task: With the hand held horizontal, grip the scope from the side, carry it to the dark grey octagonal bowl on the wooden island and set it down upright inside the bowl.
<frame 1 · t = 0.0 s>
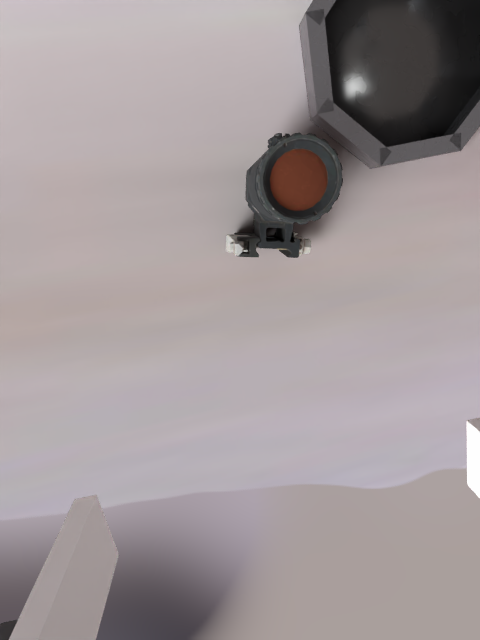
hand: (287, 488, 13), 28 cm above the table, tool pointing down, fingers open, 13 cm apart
scope: (268, 199, 38), on the table
dark grey octagonal bowl: (402, 55, 34), on the table
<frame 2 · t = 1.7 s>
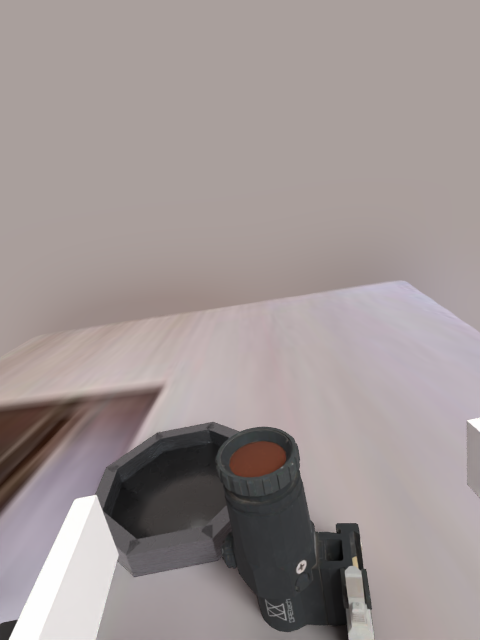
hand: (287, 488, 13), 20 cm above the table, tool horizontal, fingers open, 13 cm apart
scope: (301, 606, 29), on the table
dark grey octagonal bowl: (184, 493, 42), on the table
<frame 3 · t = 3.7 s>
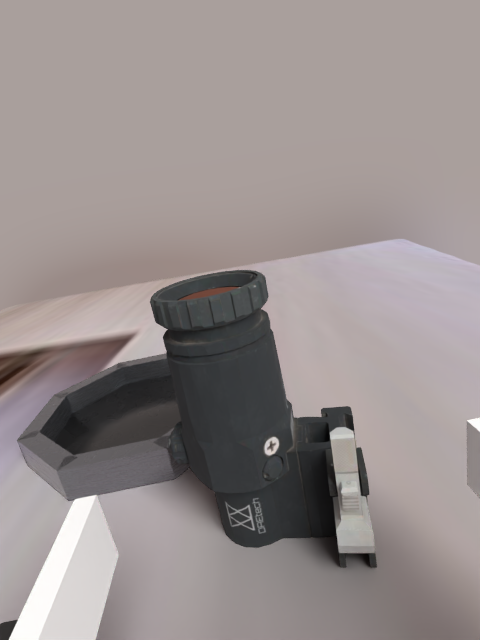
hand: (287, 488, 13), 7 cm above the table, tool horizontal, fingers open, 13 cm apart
scope: (276, 520, 22), on the table
dark grey octagonal bowl: (144, 419, 35), on the table
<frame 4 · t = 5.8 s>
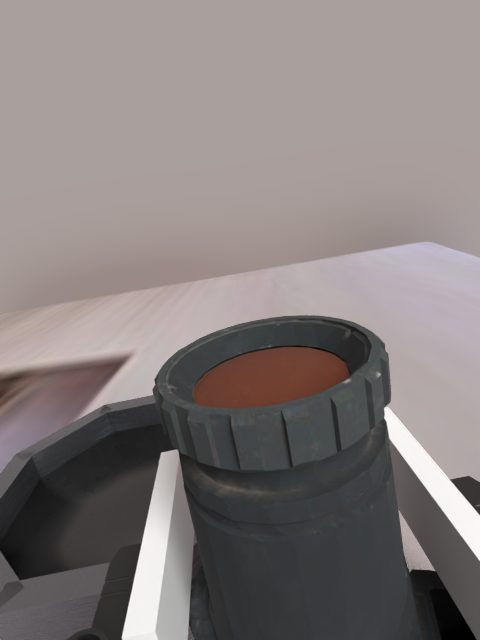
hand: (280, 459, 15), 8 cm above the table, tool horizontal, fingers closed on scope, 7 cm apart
dark grey octagonal bowl: (132, 493, 26), on the table
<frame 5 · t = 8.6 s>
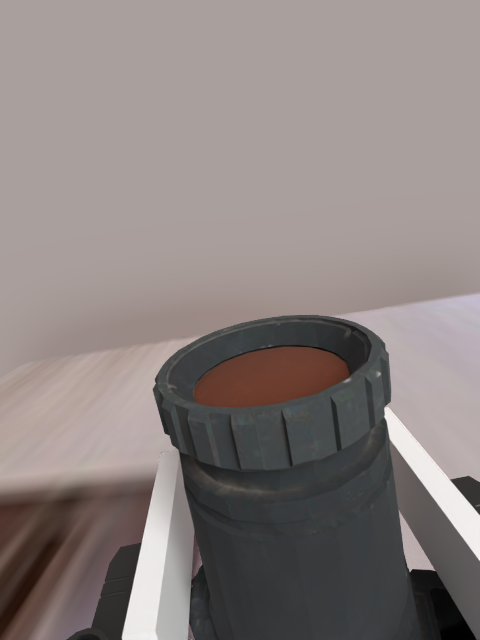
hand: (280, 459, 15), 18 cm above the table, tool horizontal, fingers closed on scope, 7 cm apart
when the fingers open (9 cm above the table, at t = 11.0 s): scope drops 1 cm, resting on dark grey octagonal bowl.
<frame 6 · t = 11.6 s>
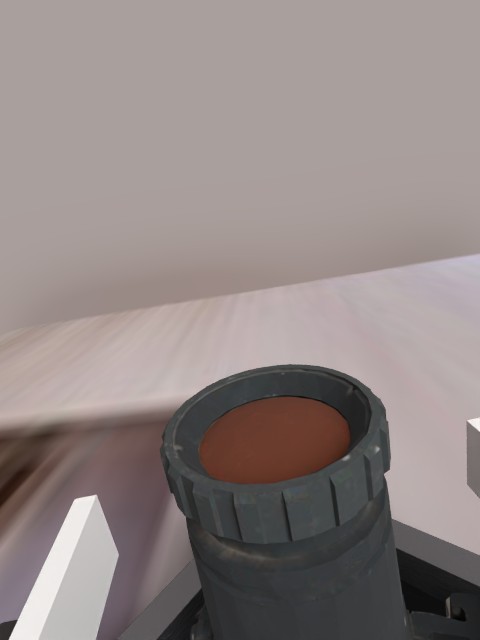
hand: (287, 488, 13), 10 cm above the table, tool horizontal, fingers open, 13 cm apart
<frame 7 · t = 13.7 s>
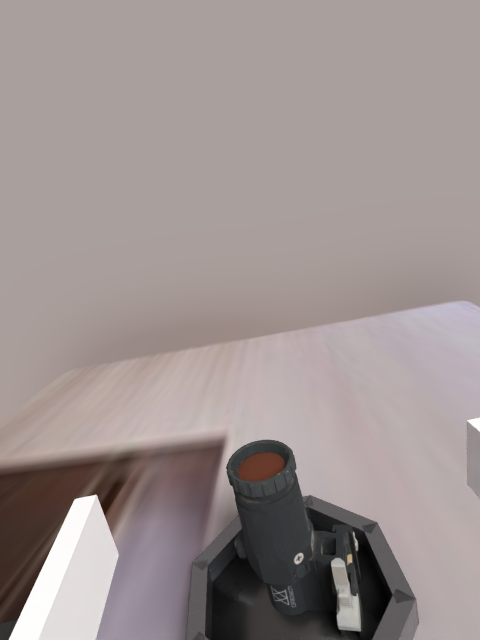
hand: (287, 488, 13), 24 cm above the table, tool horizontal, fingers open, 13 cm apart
scope: (304, 595, 33), resting on dark grey octagonal bowl
dark grey octagonal bowl: (296, 600, 33), on the table
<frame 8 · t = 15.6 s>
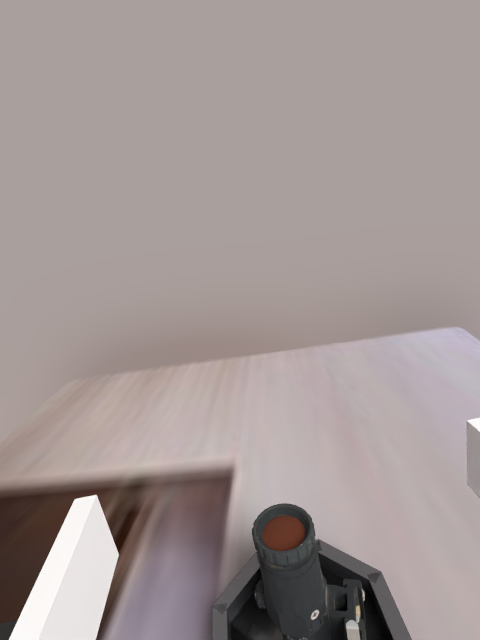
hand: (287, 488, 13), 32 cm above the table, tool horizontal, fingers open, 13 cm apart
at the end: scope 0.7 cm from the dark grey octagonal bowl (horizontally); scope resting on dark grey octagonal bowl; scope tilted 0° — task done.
